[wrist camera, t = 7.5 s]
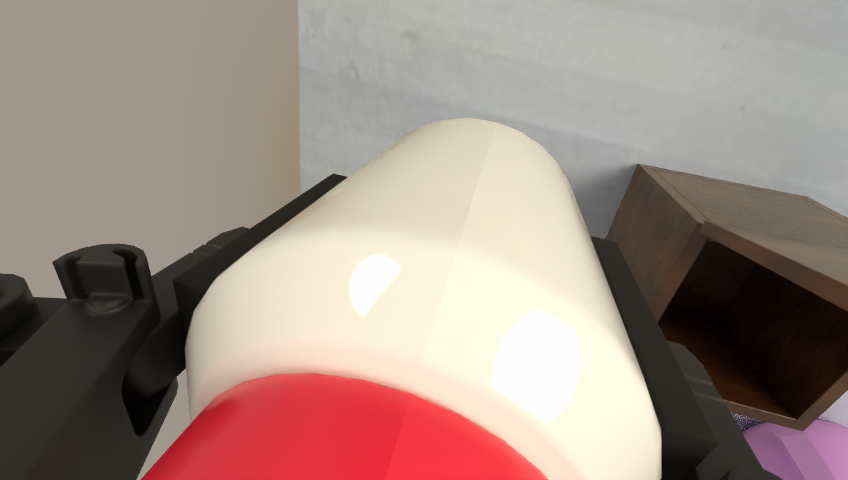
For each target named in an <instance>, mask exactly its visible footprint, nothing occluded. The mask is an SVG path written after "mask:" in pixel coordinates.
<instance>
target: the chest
mask: <svg viewBox="0 0 848 480" xmlns="http://www.w3.org/2000/svg"><path fill="white" fill-rule="evenodd" d="M705 220H708V221H713V222H718V223H723V224H727V225H732V226H737V227H742V228H746V229H751V230H756V231H761V232H765V233H770V234H775V235H780V236H784V237H789V238H794V239H799V240H803V241H808V242H813V243H818V244H822V245H827V246H832V247H837V248H841V249H846V250H848V218H847V217H845V216H843V215H841V214H839V213H837V212H835V211H833V210H831V209H830V208H828V207H826V206H824V205H822V204H820V203H818V202H816V201H814V200H812V199H810V198H808V197H805V196H800V195H795V194H789V193H784V192H779V191H774V190H769V189H764V188H759V187H754V186H749V185H744V184H738V183H733V182H728V181H723V180H718V179H713V178H708V177H703V176H698V175H693V174H687V173H682V172H677V171H672V170H667V169H662V168H657V167H652V166H647V165H642V164H638V166H637V169H636V171H635V173H634V175H633V178H632V180H631V182H630V184H629V187H628V189H627V191H626V193H625V196H624V198H623V200H622V202H621V205H620V207H619V209H618V211H617V214H616V216H615V218H614V220H613V223H612V225H611V227H610V229H609V232H608V234H607V236H606V238H605V240H608V241H612V242H617V244H618V246H619V248H620V250H621V252H622V254H623V256H624V258H625V260H626V262H627V264H628V265H629V267H630V269H631V271H632V273H633V275H634V277H635V279H636V281H637V283H638V285H639V287H640V289H641V291H642V293H643V295H644V297H645V299H646V301H647V303H648V305H649V307H650V309H651V311H652V313H653V315H654V317H655V319H656V321H657V323H658V325H659V327H660V328H661V330H662V332H663V334H664V336H665V338H666V340H667V341H671V342H675V343H679V344H682V345H684V346H685V347H686V348H687V349H688V350H689V351H690V352H691V353H692V354H693V355H694V356H695V357H696V358H697V359H698V360H699V361H700V362H701V363H702V365H703V366H704V368H705V370H706V372H707V373H708V375H709V377H710V378H711V380H712V382H713V387H716V389H717V390H718V392H719V394H720V396H721V397H722V399H723V401H722V403H723V404H726V406H727V408H728V409H729V411H730V412H732V413H736V414H740V415H743V416H747V417H751V418H754V419H758V420H762V421H765V422H769V423H773V424H776V425H780V426H784V427H787V428H791V429H795V430H798V431H802V432H803V431H804V430H805V429H806V428H808V427H809V426H810V425H811V424H812V423H813V422H814V421H815V420H816V419H817V418H818V417H819V416H820V415H821V414H823V413H824V412H825V411H826V410H827V409H828V408H829V407H830V406H831V405H832V404H833V403H834V402H835V401H836V400H838V399H839V398H840V397H841V396H842V395H843V394H844V393H845V392H846V391H847V390H848V311H846V310H844V309H842V308H840V307H838V306H836V305H835V304H833V303H831V302H829V301H827V300H825V299H823V298H822V297H820V296H818V295H816V294H814V293H812V292H810V291H808V290H807V289H805V288H803V287H801V286H799V285H797V284H795V283H793V282H792V281H790V280H788V279H786V278H784V277H782V276H780V275H779V274H777V273H775V272H773V271H771V270H769V269H767V268H765V267H764V266H762V265H760V264H758V263H756V262H754V261H752V260H750V259H749V258H747V257H745V256H743V255H741V254H739V253H737V252H736V251H734V250H732V249H730V248H728V247H726V246H724V245H722V244H721V243H719V242H717V241H715V240H713V239H711V238H709V237H707V236H706V235H704V234H702V233H700V230H701V227H702V225H703V223H704V221H705Z"/></svg>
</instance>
